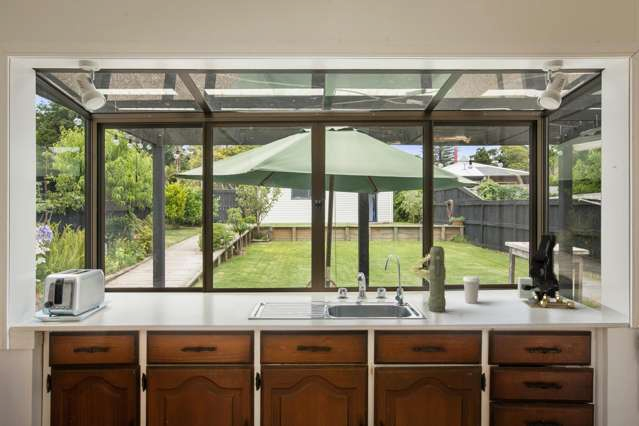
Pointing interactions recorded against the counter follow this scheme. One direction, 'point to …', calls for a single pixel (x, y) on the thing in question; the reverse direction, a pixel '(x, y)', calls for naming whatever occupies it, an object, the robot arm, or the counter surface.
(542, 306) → the brass spacers
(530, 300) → the steel nut
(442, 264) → the green bumpy column
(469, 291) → the coffee cup
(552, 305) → the walnut board
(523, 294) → the supplement box
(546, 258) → the robot arm
